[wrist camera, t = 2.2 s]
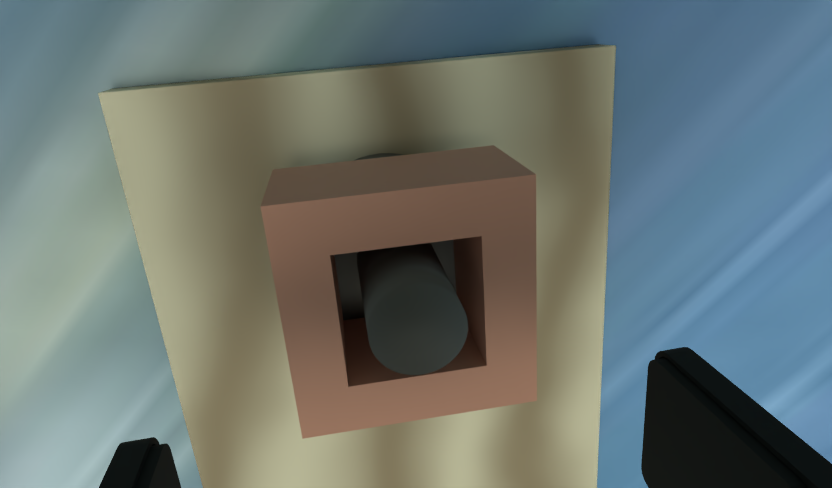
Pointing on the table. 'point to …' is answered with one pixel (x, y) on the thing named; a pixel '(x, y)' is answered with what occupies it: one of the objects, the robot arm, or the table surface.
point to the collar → (393, 227)
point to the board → (234, 278)
